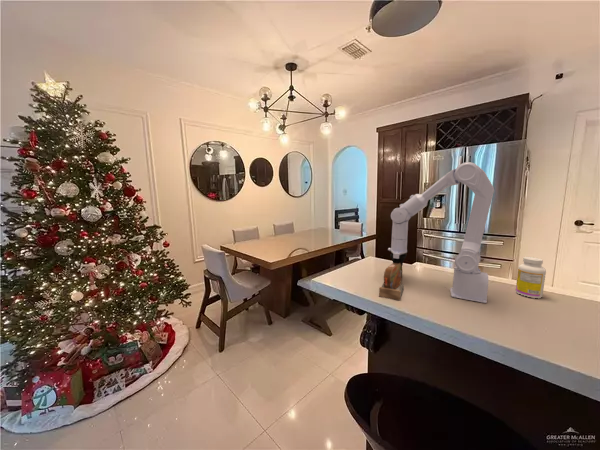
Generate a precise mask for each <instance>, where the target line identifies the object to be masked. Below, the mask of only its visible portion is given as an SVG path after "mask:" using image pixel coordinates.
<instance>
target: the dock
mask: <svg viewBox="0 0 600 450" xmlns="http://www.w3.org/2000/svg"><path fill="white" fill-rule="evenodd" d="M399 286H400V287H399V289H396V290H394V289H389V288H384V282H383V283H382V285H381V286H379V287H378V288H379V289H378V297H382V298H386V299H391V300H395V301H401V298H402V296H403V293H404V287H405V284H404V283H401V284H400V285H399Z"/></svg>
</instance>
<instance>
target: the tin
mask: <svg viewBox="0 0 600 450" xmlns="http://www.w3.org/2000/svg"><path fill="white" fill-rule="evenodd" d="M402 279H403V265H401V263H393V262H392V263H391V264H389V266H387V267H386V268H385V270H384V271H383V283H384V288H389V289H394V290H397V289H398V288H399V286H401V284H402Z"/></svg>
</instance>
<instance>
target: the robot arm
mask: <svg viewBox="0 0 600 450" xmlns="http://www.w3.org/2000/svg"><path fill="white" fill-rule="evenodd" d="M460 184H462V185H465V186H467V188H469V189H470V191H472V193H473V194H474V197H473V201H472V205H471V207H470V208H471V209H470V214H469V217H468V222H467V225H466V230H465V234H464V239H463V242H462V245H461V249H460V251H459V253H458V255H456V256H455V258H454V265H455V266H454V267H453V278H452V287H449V291H450V296H451V298H455V299H461V300H467V301H471V302H472V301H473V302H479V303H482V304H483V303H484V304H487V303H488V301H487V299H488V290H489V273H487V272H484V271H481V269H480V267H479V265H480V262H481V259H482V257H481V253H480V248H481V244H482V241H483V236H484V232H485V229H486V225H487V220H488V216H489V213H490V212H489V211H490V208H491V205H492V200H493V196H494V193H495V187H494V186H493V184H492V182H491V180H490V179H489V177H488V175H487V173H486V172H485V171H484V170H483V168H481V167H480V166H479V165H477V164H476V163H474V162H470V161H465V162H462V163H461V164H459V165H458V166H457V167H456V168H453V169H451V170H450V171H449V172H447V173H445V174H444V175H442V177H440V178H439V179H438V180H437V181H436V182H435V183H433V184H432V185H431V186H429V187H428V188H427V189H426V190H425V191H423V192H422V193H421V194H420V193H415V194H411V195H410V196H409V199H408V200H406V201H405V202H404V203H400V204H399V207H396V208H394V209H393V210H392V211H391V213H390V219H391V220H392V226H391V242H390V243H391V244H390V247H388V248H387V251H389V252H391V254H390V258H391V261H392V263H401V265H402V266H403V264H404V261H405V260H406V258H407V255H408V254H407V253H408V231H409V220H411V218H412V217H414V216H415V215H416V214H418V213H419V212H420V211H421V210H423V209H424V208H425V207H427V206H428V202H429V200H431V199H432V198H434V197H435V196H437V195H438V194H439V193H442V192H443V191H444V190H445V189H447V188H449V187H452V186H457V185H460Z"/></svg>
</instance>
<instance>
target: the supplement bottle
mask: <svg viewBox="0 0 600 450" xmlns="http://www.w3.org/2000/svg"><path fill="white" fill-rule="evenodd" d="M522 258H523V259H522V262H523V263H521V264H519V265H518V268H517V277H516V286H515V293H516V294H518V295H519V294H521V295H524V296H523V297H525V296H529V297H534V298H533V299H535V298H538V299H542V298H543V295H544V289H545V288H544V287H545V281H546V274H547V271H546V268H545V267H544V266H542V265H543V264H544V259H542V258H538V257H534V256H533V257H532V256H524V257H522ZM521 295H520V296H521ZM541 297H542V298H541Z"/></svg>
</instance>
